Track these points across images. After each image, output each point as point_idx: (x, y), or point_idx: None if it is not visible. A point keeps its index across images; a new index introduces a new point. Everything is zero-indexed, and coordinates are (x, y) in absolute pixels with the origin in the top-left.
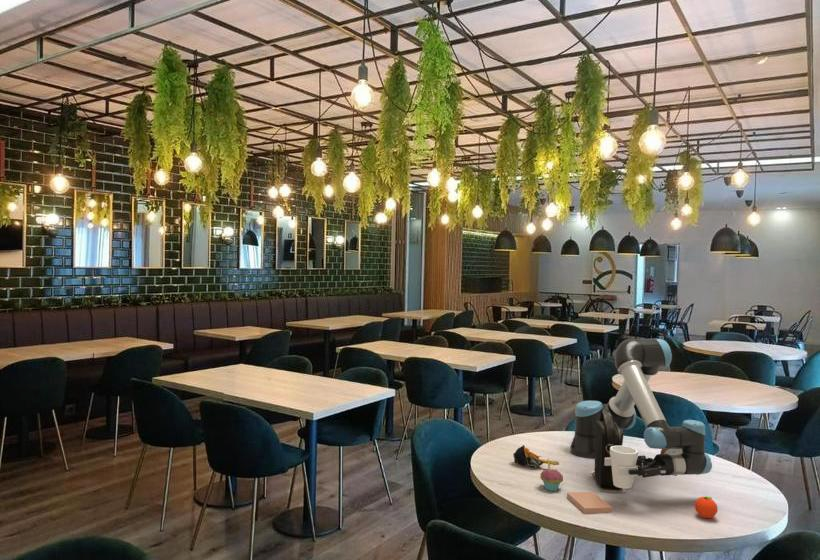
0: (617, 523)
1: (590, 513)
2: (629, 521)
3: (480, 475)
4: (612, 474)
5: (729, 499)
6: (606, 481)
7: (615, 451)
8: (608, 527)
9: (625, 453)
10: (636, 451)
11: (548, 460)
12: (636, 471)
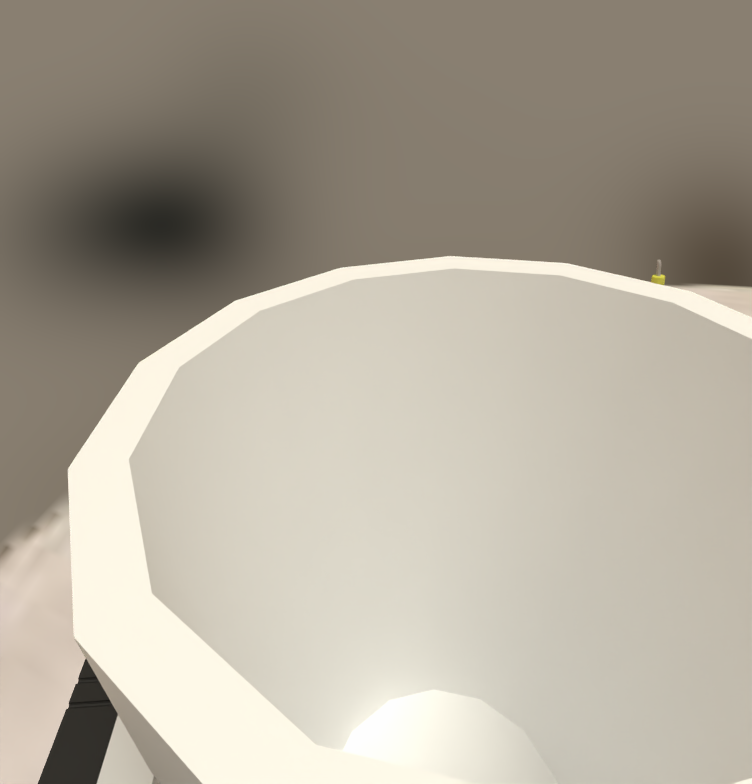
0: (71, 636)
1: None
2: (47, 751)
3: (686, 289)
4: (487, 620)
5: None
6: None
7: (344, 270)
8: (57, 559)
9: (182, 347)
10: (263, 729)
11: (654, 276)
12: (52, 766)
